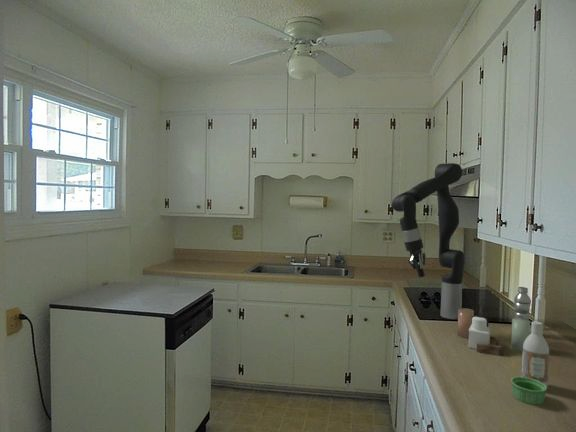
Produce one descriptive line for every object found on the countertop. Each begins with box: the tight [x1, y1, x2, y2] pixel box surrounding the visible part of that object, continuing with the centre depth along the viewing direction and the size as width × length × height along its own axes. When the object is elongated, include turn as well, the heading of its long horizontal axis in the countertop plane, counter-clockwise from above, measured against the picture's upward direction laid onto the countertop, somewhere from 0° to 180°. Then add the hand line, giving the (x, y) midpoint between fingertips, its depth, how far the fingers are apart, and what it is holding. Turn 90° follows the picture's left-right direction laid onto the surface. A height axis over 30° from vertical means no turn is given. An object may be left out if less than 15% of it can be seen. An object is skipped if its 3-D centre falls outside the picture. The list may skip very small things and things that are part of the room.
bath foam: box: [521, 320, 550, 388], centre depth 123 cm, size 7×7×20 cm
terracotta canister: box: [456, 307, 475, 339], centre depth 167 cm, size 6×6×11 cm
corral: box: [476, 334, 504, 357], centre depth 154 cm, size 9×13×3 cm, turn 158°
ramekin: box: [510, 376, 548, 406], centre depth 115 cm, size 9×9×4 cm
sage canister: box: [510, 317, 531, 352], centre depth 154 cm, size 6×6×11 cm
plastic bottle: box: [513, 286, 532, 321], centre depth 171 cm, size 6×7×20 cm
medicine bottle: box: [467, 314, 491, 350], centre depth 155 cm, size 7×7×12 cm
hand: (421, 276), depth 175 cm, fingers closed
